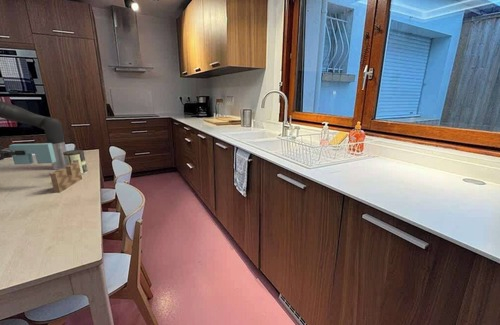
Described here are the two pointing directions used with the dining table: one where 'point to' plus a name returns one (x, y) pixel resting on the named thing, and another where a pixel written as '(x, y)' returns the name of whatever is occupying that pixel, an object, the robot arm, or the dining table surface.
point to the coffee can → (76, 159)
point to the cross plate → (40, 150)
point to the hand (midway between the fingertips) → (27, 151)
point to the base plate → (66, 177)
